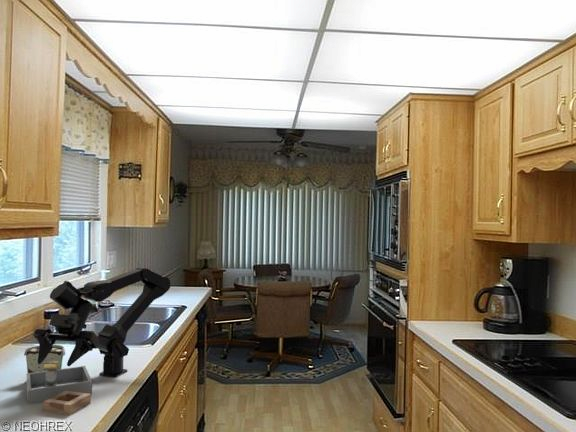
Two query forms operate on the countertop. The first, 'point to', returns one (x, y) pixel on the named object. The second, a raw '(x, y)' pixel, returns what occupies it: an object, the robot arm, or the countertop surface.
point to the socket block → (67, 402)
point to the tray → (52, 391)
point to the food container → (53, 355)
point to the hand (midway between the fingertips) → (53, 364)
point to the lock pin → (51, 373)
